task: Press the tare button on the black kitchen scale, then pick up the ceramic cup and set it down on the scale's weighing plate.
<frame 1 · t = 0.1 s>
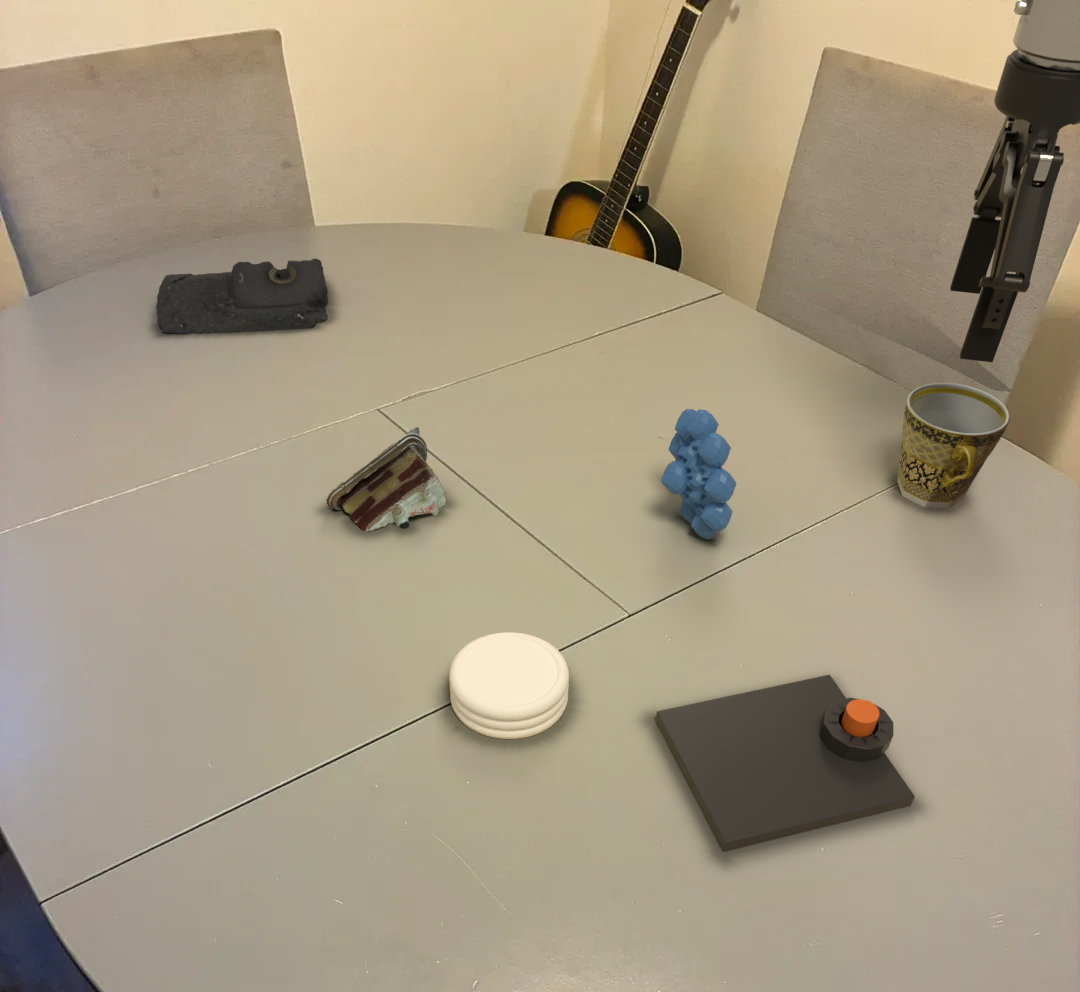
hand: (970, 323, 94), 20 cm above the table, tool pointing down, fingers open, 13 cm apart
grapes: (684, 526, 105), on the table
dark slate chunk: (245, 308, 136), on the table
scale: (778, 763, 84), on the table
chocolate cake: (395, 513, 106), on the table
ceramic cup: (931, 501, 109), on the table
coaster: (509, 700, 88), on the table
tare button: (860, 718, 82), point 4 cm above the table, slide at 0.1 cm
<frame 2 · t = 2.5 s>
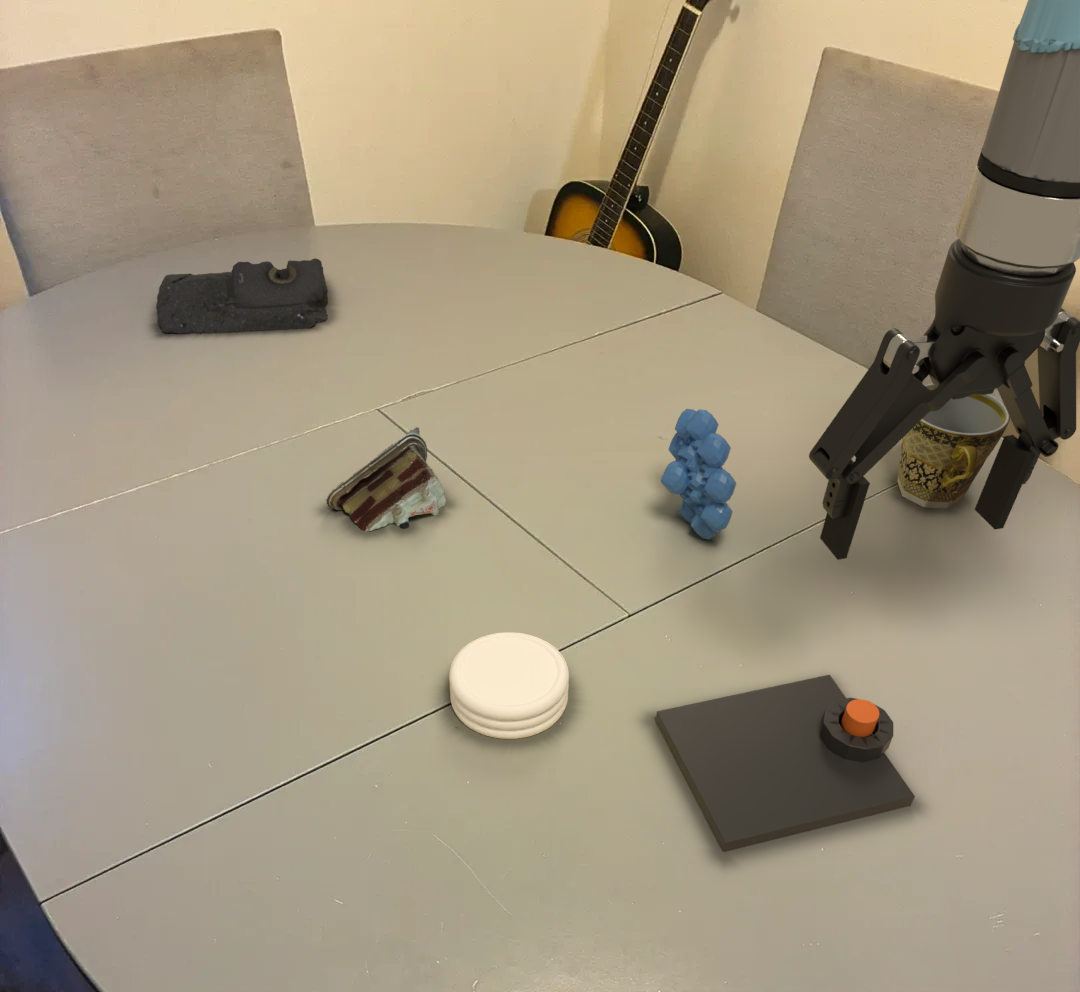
hand: (912, 533, 78), 16 cm above the table, tool pointing down, fingers open, 13 cm apart
nothing on the table moved.
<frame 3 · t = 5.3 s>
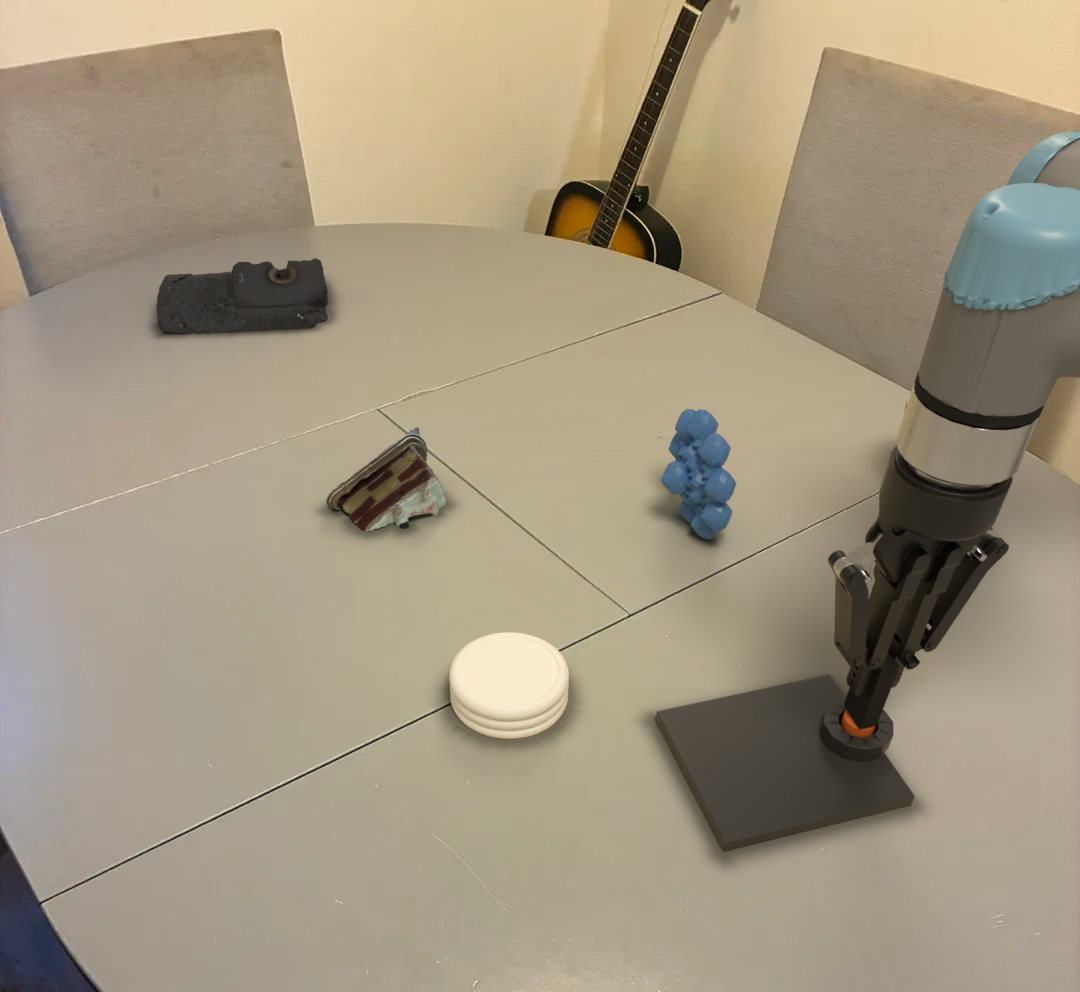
hand: (860, 715, 82), 4 cm above the table, tool pointing down, fingers closed
tare button: (857, 724, 83), point 3 cm above the table, slide at -0.6 cm, touching gripper
everything else where it was.
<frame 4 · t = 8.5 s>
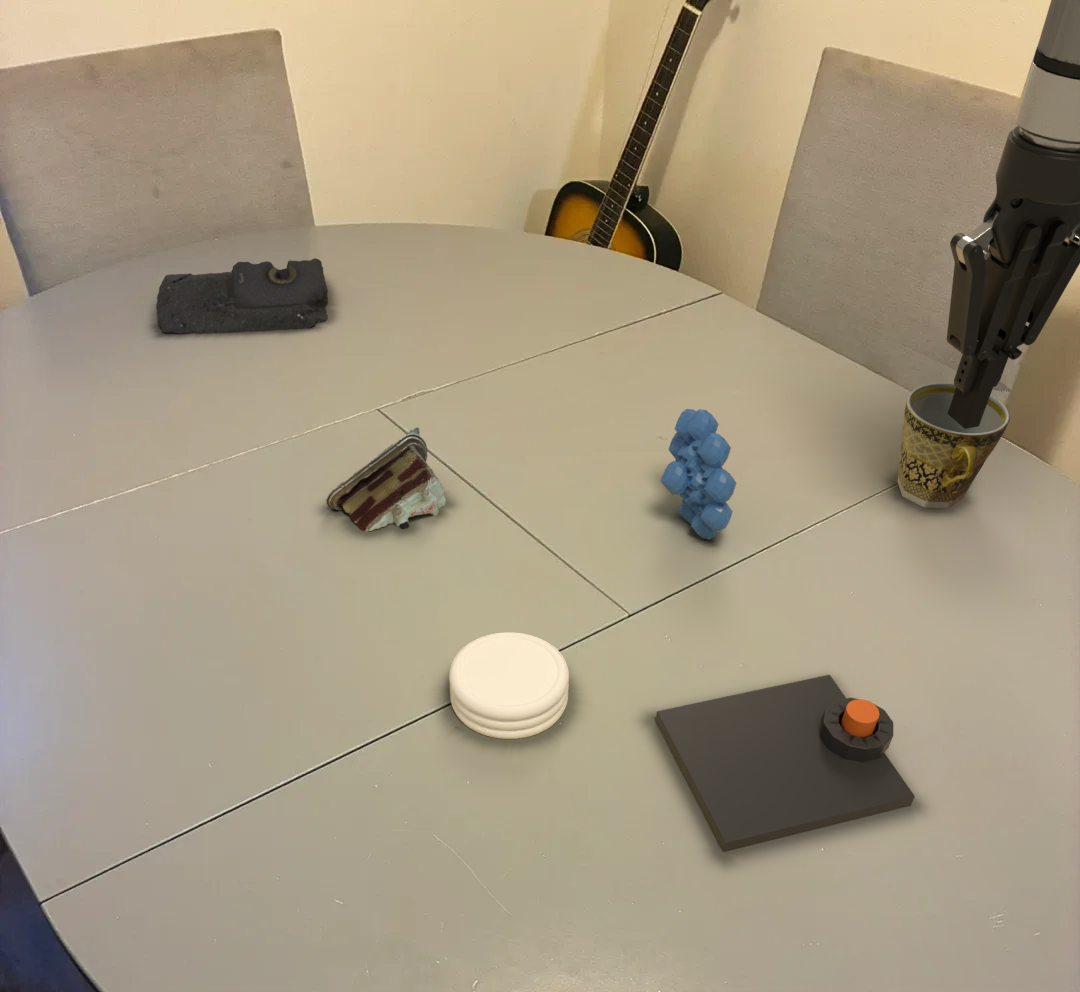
hand: (963, 419, 93), 14 cm above the table, tool pointing down, fingers closed
tare button: (860, 718, 82), point 3 cm above the table, slide at 0.1 cm
everything else where it was.
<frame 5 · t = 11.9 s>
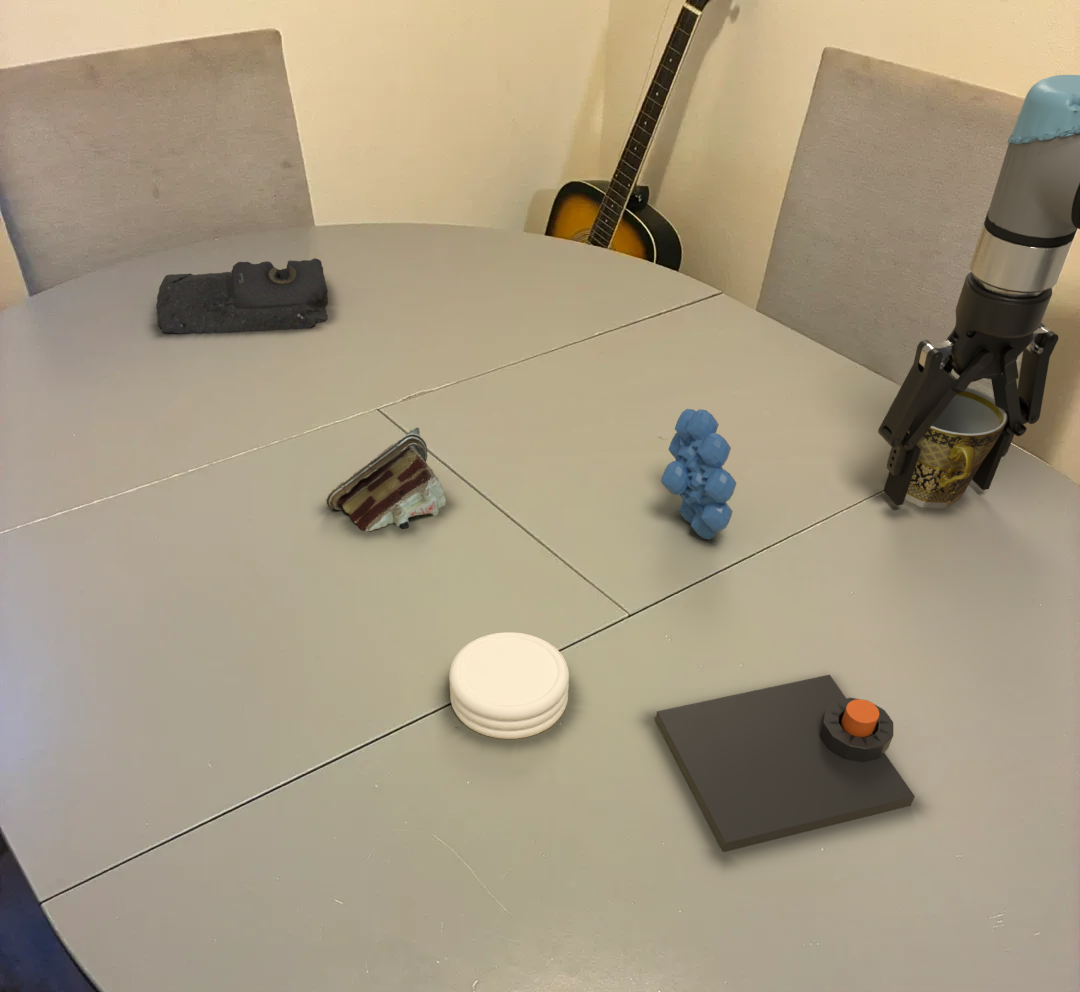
hand: (936, 489, 108), 1 cm above the table, tool pointing down, fingers closed on ceramic cup, 9 cm apart
ceramic cup: (929, 502, 109), on the table, touching gripper
everything else where it was.
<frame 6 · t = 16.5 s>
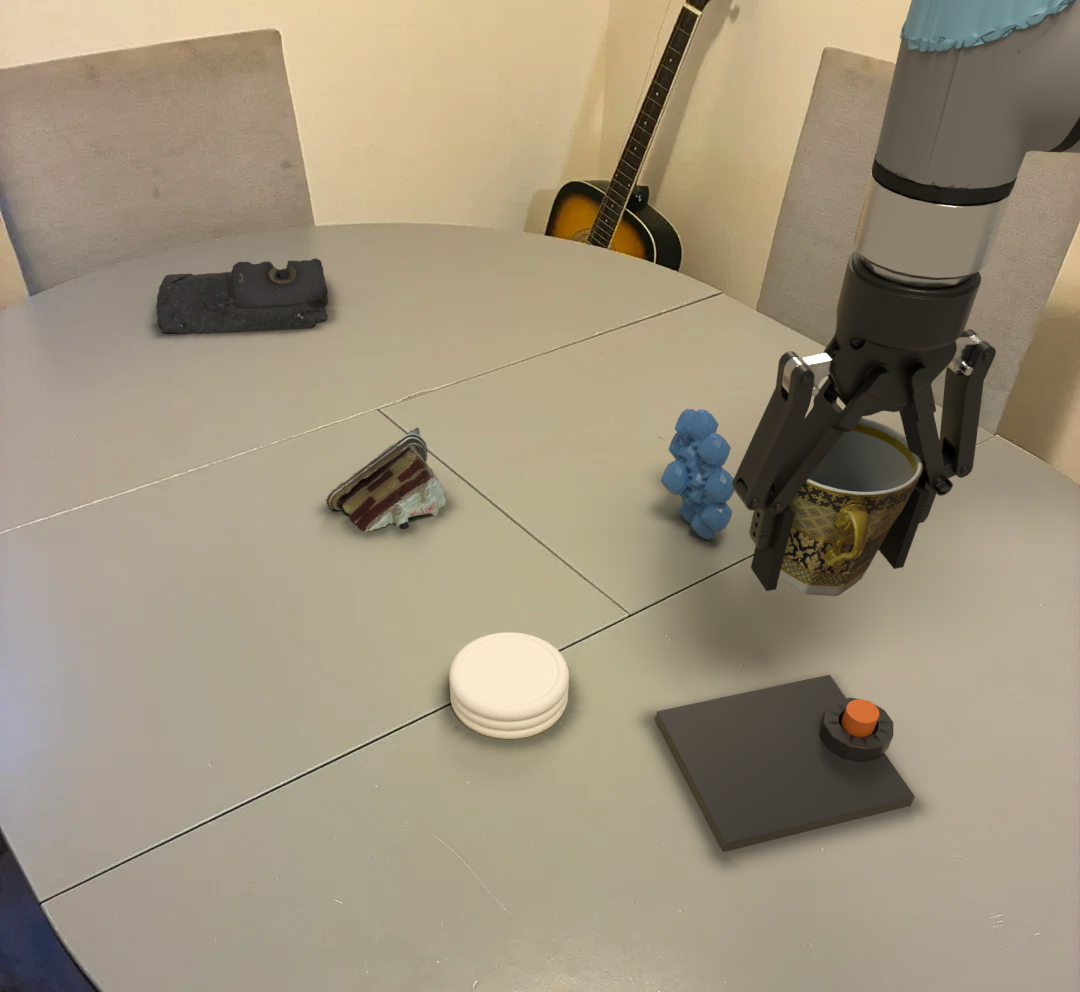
hand: (827, 567, 75), 16 cm above the table, tool pointing down, fingers closed on ceramic cup, 9 cm apart
ceramic cup: (817, 583, 76), point 15 cm above the table, touching gripper
everything else where it was.
when the fingers open (3 cm above the table, at t = 21.4 s): ceramic cup stays where it is, resting on scale.
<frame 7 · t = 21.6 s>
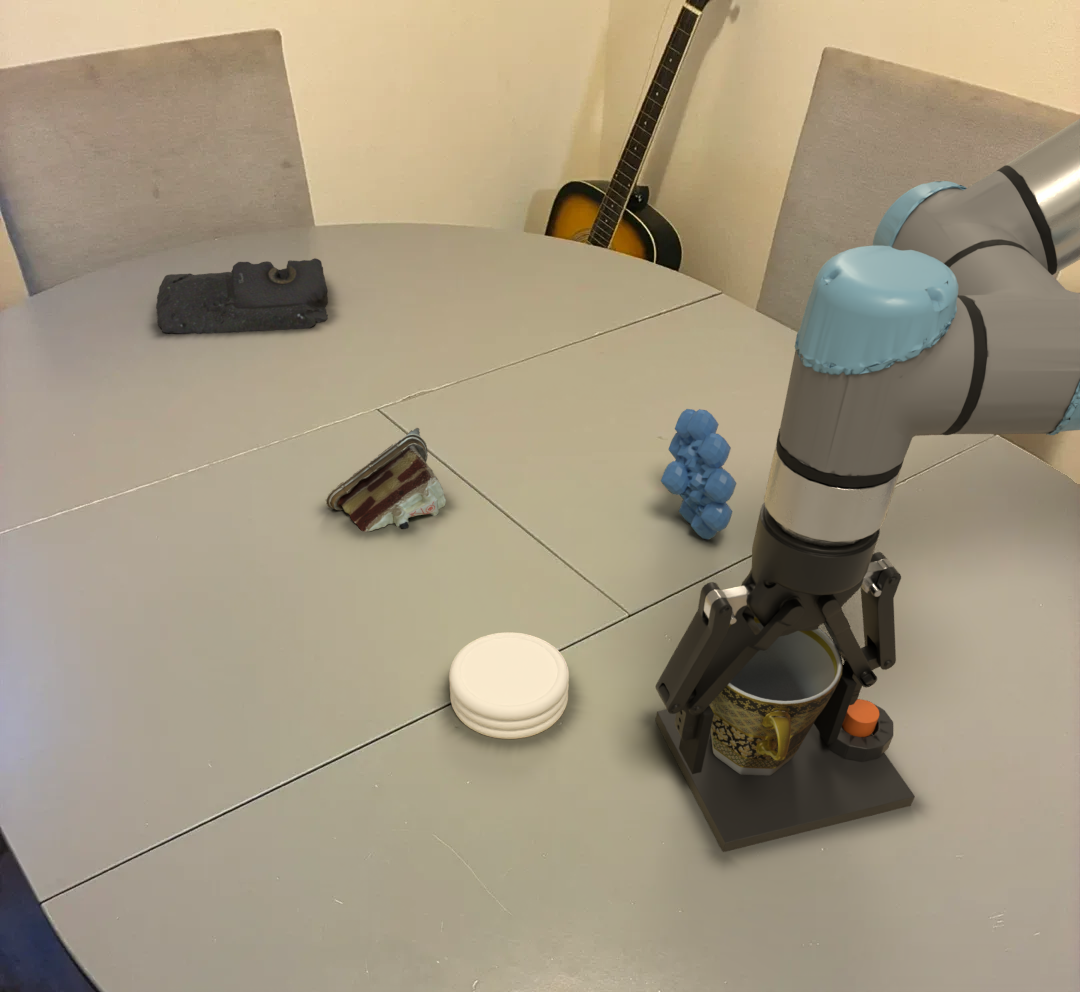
hand: (757, 745, 81), 3 cm above the table, tool pointing down, fingers open, 11 cm apart
ceramic cup: (752, 760, 82), point 1 cm above the table, touching scale
everything else where it was.
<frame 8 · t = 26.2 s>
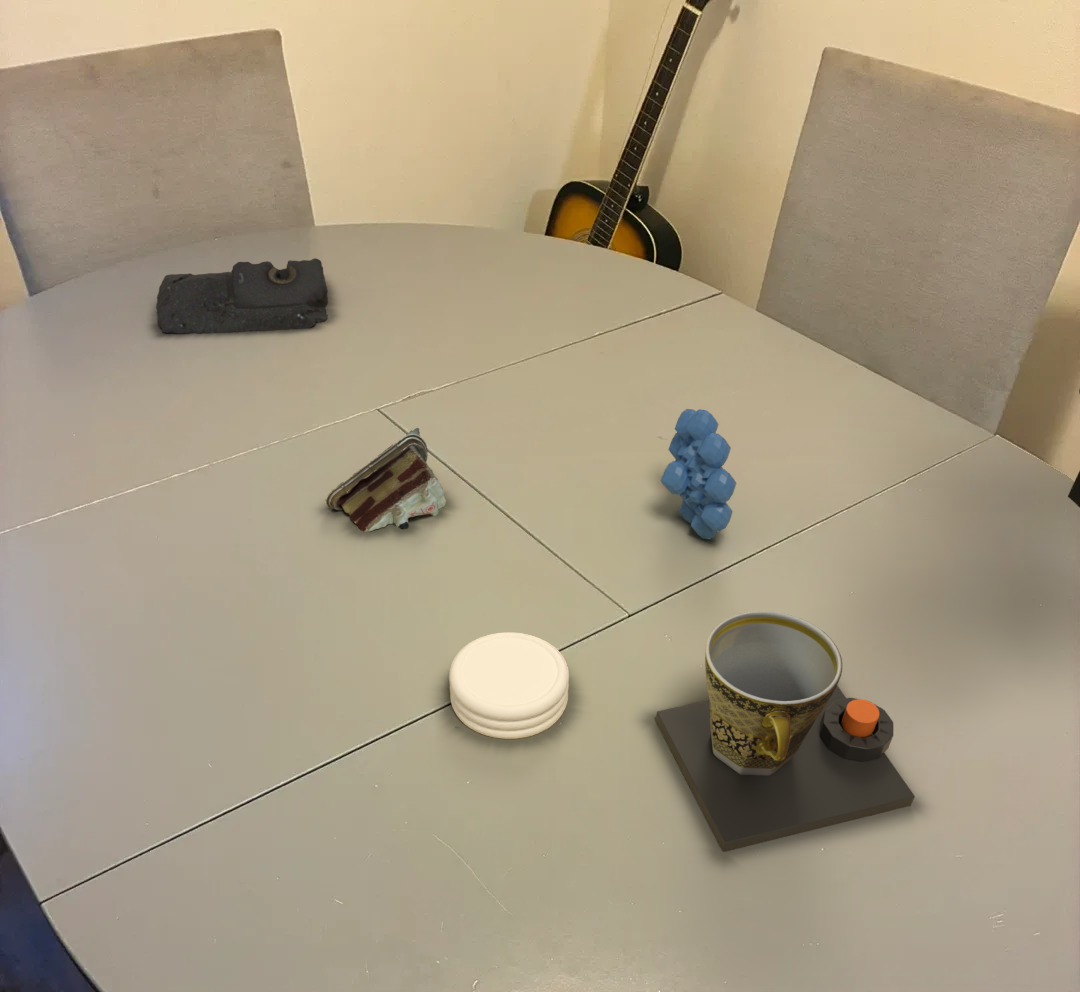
nothing on the table moved.
at the end: tare button pushed in 0.8 cm at the most during the clip, back to where it started at the end; tare button slide at 0.1 cm; ceramic cup inside the target area on the scale (1.5 cm from its centre), point 1.2 cm above the scale's base; ceramic cup touching scale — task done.
